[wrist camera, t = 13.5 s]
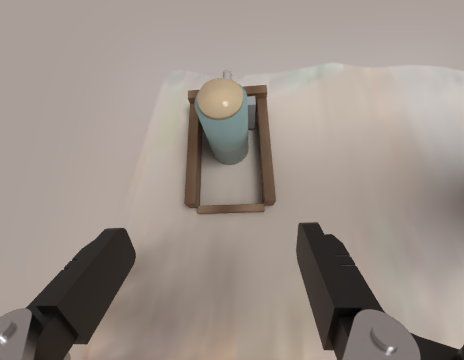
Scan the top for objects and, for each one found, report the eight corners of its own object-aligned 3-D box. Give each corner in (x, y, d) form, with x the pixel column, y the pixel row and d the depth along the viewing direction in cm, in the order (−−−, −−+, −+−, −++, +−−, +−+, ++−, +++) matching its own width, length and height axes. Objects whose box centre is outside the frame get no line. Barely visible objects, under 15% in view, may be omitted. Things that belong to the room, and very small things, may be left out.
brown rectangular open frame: (264, 103, 30) (266, 85, 26) (273, 211, 24) (277, 205, 21) (195, 108, 30) (188, 90, 27) (190, 214, 25) (181, 209, 22)
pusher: (251, 85, 30) (252, 55, 26) (254, 128, 28) (255, 104, 23) (206, 88, 31) (198, 60, 26) (205, 131, 28) (196, 108, 24)
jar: (247, 131, 28) (246, 72, 19) (249, 163, 27) (249, 117, 17) (212, 133, 29) (193, 77, 19) (212, 165, 27) (191, 122, 17)
